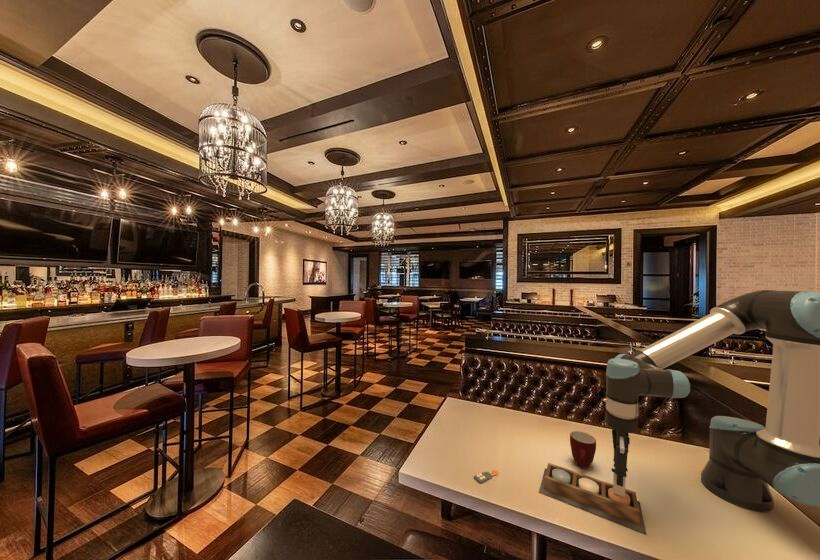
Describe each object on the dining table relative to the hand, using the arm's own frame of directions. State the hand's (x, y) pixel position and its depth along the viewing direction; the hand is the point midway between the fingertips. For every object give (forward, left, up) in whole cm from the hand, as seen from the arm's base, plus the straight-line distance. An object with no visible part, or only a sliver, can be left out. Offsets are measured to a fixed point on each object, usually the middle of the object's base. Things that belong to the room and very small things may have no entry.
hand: (618, 493), depth 83 cm
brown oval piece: (0, 0, -4) cm, 4 cm away
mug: (+9, -16, -5) cm, 19 cm away
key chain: (+35, +7, -5) cm, 36 cm away
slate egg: (+15, 0, -4) cm, 15 cm away
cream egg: (+8, 0, -4) cm, 8 cm away
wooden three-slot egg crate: (+7, 0, -4) cm, 9 cm away
